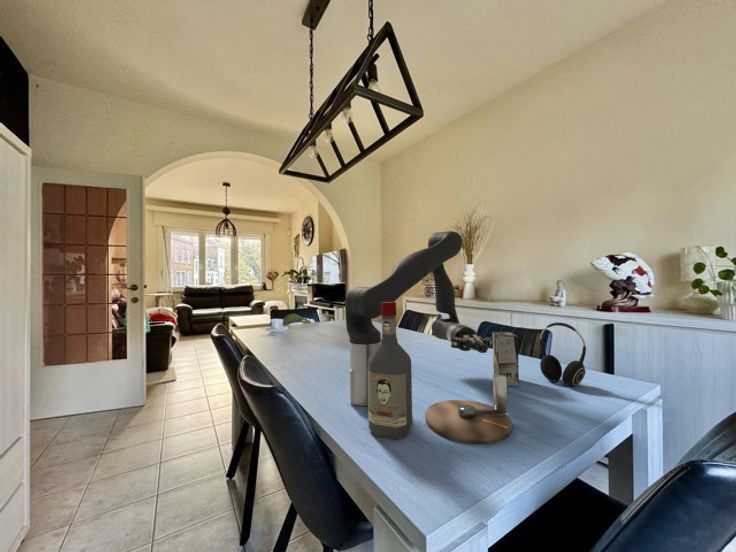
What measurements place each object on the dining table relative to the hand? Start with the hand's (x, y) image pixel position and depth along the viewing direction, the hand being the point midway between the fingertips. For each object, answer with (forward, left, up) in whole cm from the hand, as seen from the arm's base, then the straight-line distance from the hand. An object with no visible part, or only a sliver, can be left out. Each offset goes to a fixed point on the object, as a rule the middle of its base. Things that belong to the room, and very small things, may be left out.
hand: (483, 349), depth 83 cm
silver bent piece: (-4, -7, -14) cm, 16 cm away
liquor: (-27, -9, -16) cm, 32 cm away
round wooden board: (-8, -7, -16) cm, 19 cm away
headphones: (+33, +17, -16) cm, 41 cm away
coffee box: (+16, +21, -16) cm, 32 cm away
